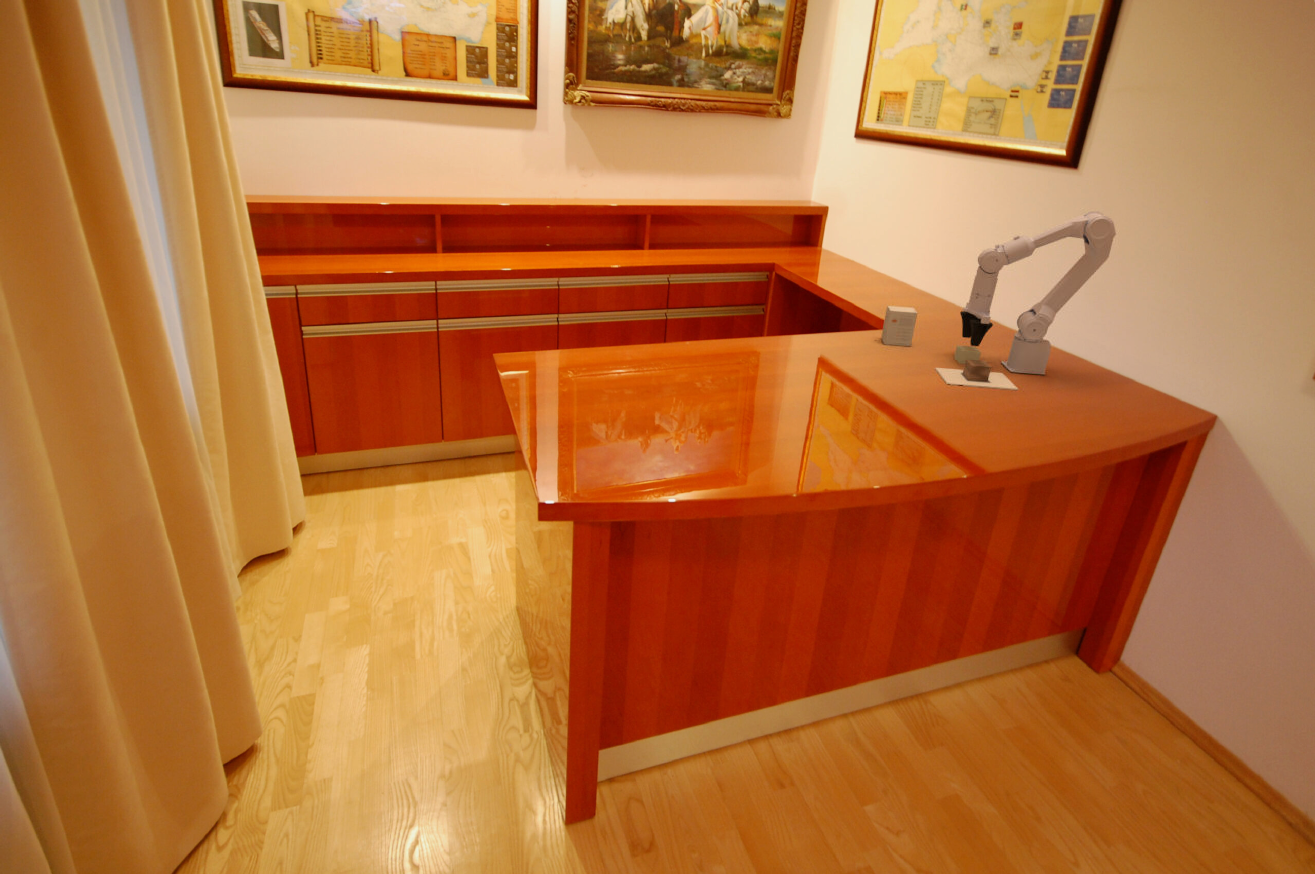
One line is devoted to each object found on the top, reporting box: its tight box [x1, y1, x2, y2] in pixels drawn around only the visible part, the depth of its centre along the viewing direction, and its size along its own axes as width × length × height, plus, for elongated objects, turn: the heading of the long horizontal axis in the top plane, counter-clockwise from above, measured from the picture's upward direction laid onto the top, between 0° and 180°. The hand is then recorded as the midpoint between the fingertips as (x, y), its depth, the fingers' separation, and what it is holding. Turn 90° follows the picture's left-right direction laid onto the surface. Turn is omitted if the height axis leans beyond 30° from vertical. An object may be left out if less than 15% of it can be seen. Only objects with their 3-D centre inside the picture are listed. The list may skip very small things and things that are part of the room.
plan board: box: [934, 367, 1019, 391], centre depth 198 cm, size 18×12×1 cm, turn 86°
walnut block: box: [962, 359, 992, 382], centre depth 197 cm, size 5×5×4 cm
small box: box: [880, 305, 918, 347], centre depth 222 cm, size 8×6×10 cm
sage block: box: [953, 344, 982, 365], centre depth 211 cm, size 5×5×4 cm
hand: (970, 341), depth 209 cm, fingers open, 7 cm apart
